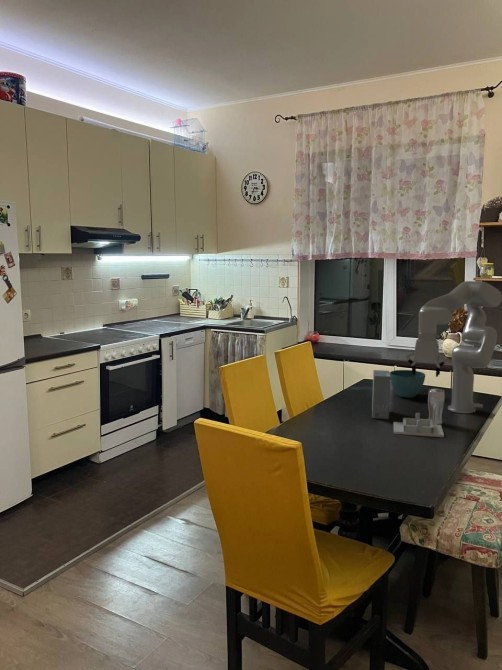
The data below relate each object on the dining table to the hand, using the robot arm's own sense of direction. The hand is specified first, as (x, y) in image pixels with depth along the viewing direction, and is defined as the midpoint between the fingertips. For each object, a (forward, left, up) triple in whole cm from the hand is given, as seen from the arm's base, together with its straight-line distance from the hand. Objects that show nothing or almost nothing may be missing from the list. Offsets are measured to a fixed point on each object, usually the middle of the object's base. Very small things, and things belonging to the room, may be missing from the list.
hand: (425, 375), depth 245 cm
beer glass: (-5, -1, -22) cm, 22 cm away
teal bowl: (+6, -49, -22) cm, 54 cm away
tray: (+3, +12, -22) cm, 25 cm away
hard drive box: (+19, -9, -22) cm, 30 cm away
